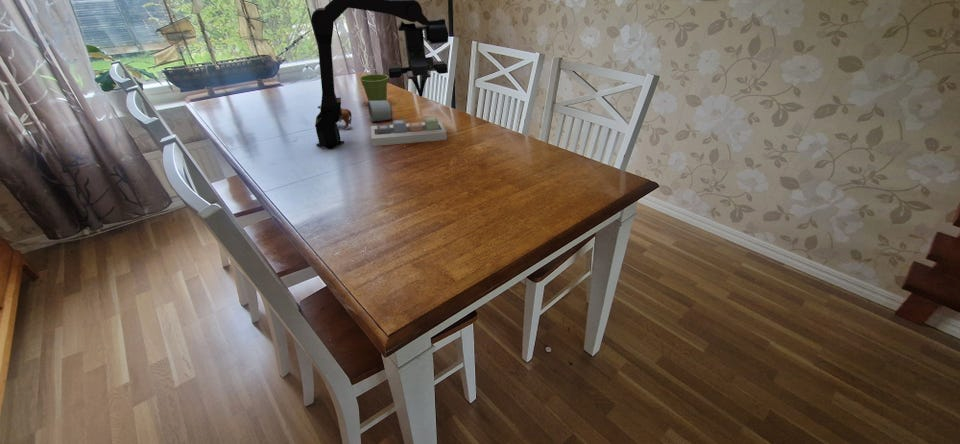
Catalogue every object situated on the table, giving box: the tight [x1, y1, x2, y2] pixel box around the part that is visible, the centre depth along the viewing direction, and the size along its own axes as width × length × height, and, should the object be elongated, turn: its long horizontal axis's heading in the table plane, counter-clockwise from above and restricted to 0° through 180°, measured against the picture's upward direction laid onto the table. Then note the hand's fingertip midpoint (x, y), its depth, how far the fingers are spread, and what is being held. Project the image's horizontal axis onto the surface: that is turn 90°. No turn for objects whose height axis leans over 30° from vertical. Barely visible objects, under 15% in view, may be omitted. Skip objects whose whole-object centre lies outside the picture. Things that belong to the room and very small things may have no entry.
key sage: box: [423, 116, 439, 130], centre depth 131 cm, size 4×4×3 cm
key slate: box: [392, 119, 407, 133], centre depth 129 cm, size 4×4×3 cm
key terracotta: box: [409, 121, 423, 132], centre depth 131 cm, size 4×4×3 cm
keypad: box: [370, 120, 448, 147], centre depth 131 cm, size 25×12×3 cm, turn 105°
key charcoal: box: [376, 124, 391, 135], centre depth 129 cm, size 4×4×3 cm
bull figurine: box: [317, 104, 353, 131], centre depth 137 cm, size 4×13×8 cm, turn 71°
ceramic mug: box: [367, 100, 394, 123], centre depth 145 cm, size 11×8×8 cm
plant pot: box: [359, 73, 390, 102], centre depth 159 cm, size 12×12×11 cm
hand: (420, 96), depth 125 cm, fingers closed
